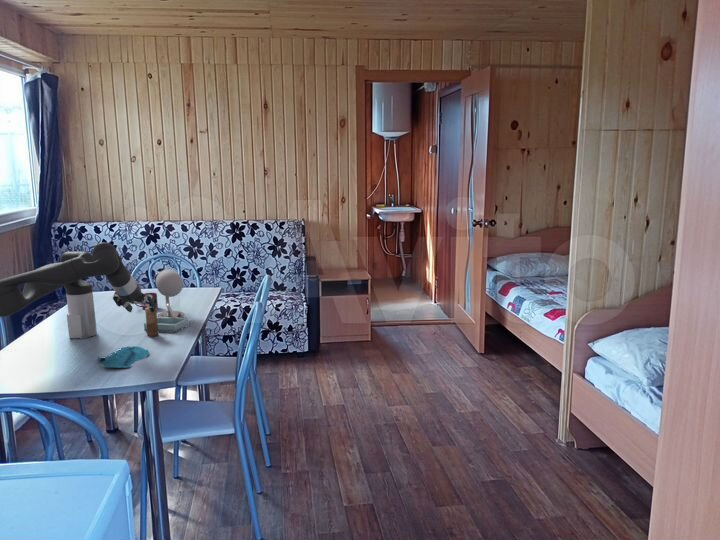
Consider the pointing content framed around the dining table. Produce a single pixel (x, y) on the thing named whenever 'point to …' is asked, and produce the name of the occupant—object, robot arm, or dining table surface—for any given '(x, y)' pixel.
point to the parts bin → (170, 324)
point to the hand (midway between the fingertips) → (142, 310)
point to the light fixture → (169, 290)
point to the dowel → (151, 323)
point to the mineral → (125, 357)
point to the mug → (148, 302)
